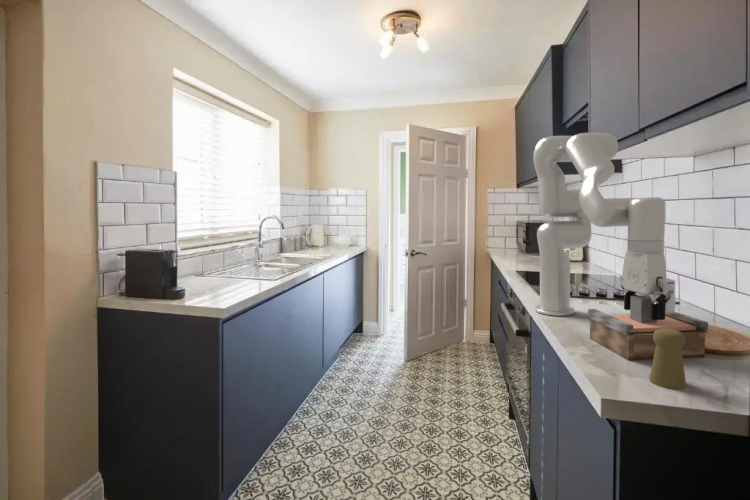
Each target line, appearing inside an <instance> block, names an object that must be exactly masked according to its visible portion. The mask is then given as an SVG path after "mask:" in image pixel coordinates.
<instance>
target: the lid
mask: <svg viewBox="0 0 750 500" xmlns="http://www.w3.org/2000/svg"><path fill="white" fill-rule="evenodd" d="M651 303H653V301H652V299H651V297H650V296H646V295H644V294H642V295H637V296H631V305H630V310H629V313H627V314H609V315H610V316H612V317H615V318H617V319H620V320H622V321H624V322H627V323H629V324H631V325H633V330H629V333H635V332H655V331H656V330H658V329H672V330H677V331H686V330H696V327H697V326H695V325H692V324H689V323H686V322H683V321H680V320H678V319H675V318H672V317H669V316H666V315H665V319H664V320H652V319H650V311H651Z"/></svg>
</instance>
